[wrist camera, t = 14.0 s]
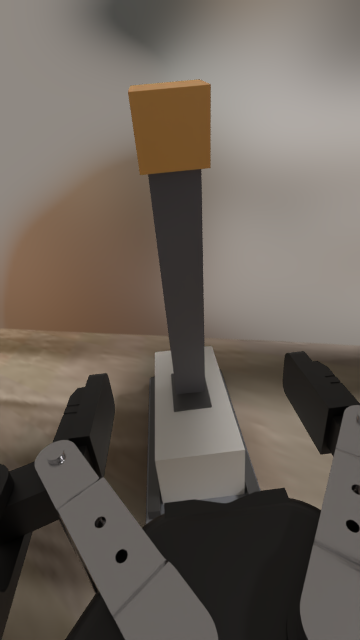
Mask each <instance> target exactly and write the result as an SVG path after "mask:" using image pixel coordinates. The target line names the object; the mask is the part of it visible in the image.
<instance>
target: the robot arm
mask: <svg viewBox="0 0 360 640" xmlns="http://www.w3.org/2000/svg"><path fill="white" fill-rule="evenodd" d="M283 388H284V391H285V394H286V396H287V398H288V399H289V401H290V403H291V404H292V406H293V408H294V410H295V411H296V413H297V415H298V416H299V418H300V420H301V422H302V423H303V425H304V427H305V429H306V430H307V432H308V434H309V435H310V437H311V439H312V441H313V442H314V444H315V446H316V447H317V449H318V451H319V453H320V454H328V453H332V455H333V462H332V466H331V470H330V475H329V479H328V483H327V488H326V492H325V496H324V501H323V505H322V509H321V510H320V509H318V508H316V507H314V506H312V505H310V504H308V503H305V502H303V501H300V500H296V499H291V498H288V495H287V493H286V490H285V488H280V489H272V490H264V491H256V492H253V493H251V494H248V495H246V496H243V497H241V498H239V499H236V500H234V501H231V502H229V503H218V502H211V501H203V500H196V499H192V500H184V501H176V502H168V503H164V514H162V515H160V516H158V517H156V518H154V519H153V520H151V521H150V522H149V523H147V524H146V525H145V526H144V527H143V528H141V526H140V525H139V524H138V522H137V521H136V520H135V518H134V517H133V516H132V514H131V513H130V512H129V510H128V509H127V508H126V506H125V505H124V503H123V502H122V501H121V499H120V498H119V497H118V495H117V494H116V493H115V491H114V490H113V489H112V487H111V486H110V485H109V483H108V482H107V481H106V479H105V478H104V473H105V467H106V461H107V455H108V449H109V443H110V437H111V432H112V426H113V420H114V414H115V404H114V398H113V394H112V390H111V386H110V382H109V378H108V375H107V373H104V374H95V375H89V377H88V380H87V383H86V386H85V387H82V388H78V389H77V390H76V391H75V392H74V393H73V394H72V395H71V396H70V398H69V401H68V404H67V407H66V409H65V411H64V415H63V417H62V419H61V422H60V425H59V427H58V430H57V433H56V435H55V438H54V440H53V443H51V444H49V445H48V446H46V447H45V448H44V449H43V450H42V451H41V452H40V453H39V454H38V456H37V457H36V460H35V461H34V462H32V463H30V464H28V465H25V466H23V467H20V468H17V469H15V470H12V471H8V469H7V467H6V466H4V465H2V464H0V640H1V639H2V636H3V632H4V629H5V625H6V622H7V619H8V615H9V612H10V608H11V605H12V601H13V598H14V594H15V591H16V587H17V584H18V580H19V577H20V573H21V570H22V566H23V563H24V559H25V556H26V552H27V549H28V545H29V542H30V538H31V535H32V531H34V530H36V529H39V528H41V527H43V526H45V525H47V524H50V523H52V522H54V521H56V520H59V522H60V524H61V526H62V528H63V530H64V532H65V533H66V535H67V537H68V539H69V541H70V543H71V545H72V547H73V549H74V551H75V553H76V555H77V557H78V559H79V561H80V563H81V565H82V568H83V570H84V572H85V574H86V576H87V578H88V580H89V582H90V584H91V586H92V588H93V590H94V592H95V596H94V597H93V599H92V600H91V602H90V603H89V605H88V606H87V608H86V609H85V611H84V612H83V614H82V615H81V617H80V618H79V620H78V621H77V623H76V624H75V626H74V627H73V629H72V630H71V632H70V633H69V635H68V636H67V638H66V639H65V640H360V403H359V402H358V401H357V400H356V399H355V398H354V396H353V395H352V394H351V393H350V392H349V391H348V390H347V388H346V387H345V386H344V385H343V384H342V383H340V380H339V379H338V378H337V377H335V375H334V374H333V372H332V371H331V370H330V369H329V368H328V367H327V366H325V365H323V364H322V363H320V362H318V361H312V360H311V359H310V358H309V357H308V355H307V354H306V353H305V352H304V351H301V352H292V353H286V354H285V359H284V371H283Z"/></svg>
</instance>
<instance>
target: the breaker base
mask: <svg viewBox="0 0 360 640" xmlns="http://www.w3.org/2000/svg"><path fill="white" fill-rule="evenodd" d="M204 356H205V391H203V392H195V393H186V394H178V395H176V388H175V380H174V372H173V364H172V356H171V351H163V352H155V377H151V378H150V385H149V423H148V462H147V500H146V524H147V523H149V522H150V521H151V520H153V519H154V518H156V517H158V516H160V515H162V514H164V503H168V502H176V501H184V500H192V499H196V500H203V501H211V502H218V503H229V502H231V501H234V500H236V499H239V498H241V497H243V496H246V495H248V494H251V493H253V492H256V491H260V488H259V485H258V482H257V479H256V476H255V472H254V469H253V466H252V463H251V460H250V457H249V454H248V451H247V448H246V445H245V442H244V439H243V436H242V433H241V430H240V427H239V424H238V421H237V418H236V414H235V411H234V408H233V405H232V402H231V399H230V396H229V393H228V390H227V387H226V384H225V381H224V378H223V375H222V372H221V370H220V369H219V367H218V364H217V361H216V357H215V354H214V351H213V348H212V346H206V347H204Z"/></svg>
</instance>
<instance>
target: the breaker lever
mask: <svg viewBox="0 0 360 640" xmlns="http://www.w3.org/2000/svg"><path fill="white" fill-rule="evenodd" d="M210 86H211V85H210V84H209V83H206V82H204V81H202V80H200V79H199V80H189V81H188V80H187V81H177V82H166V83H155V84H144V85H133V86H130V88H129V91H128V95H129V102H130V108H131V115H132V122H133V129H134V135H135V143H136V150H137V156H138V163H139V171H140V175H145V174H148V177H149V185H150V193H151V200H152V208H153V216H154V224H155V232H156V239H157V247H158V255H159V263H160V271H161V278H162V286H163V294H164V302H165V310H166V317H167V324H168V333H169V341H170V349H171V356H172V364H173V372H174V380H175V388H176V395H178V394H186V393H195V392H203V391H205V356H204V301H203V300H204V299H203V248H202V247H203V245H202V190H201V189H202V187H201V186H202V185H201V169H205V168H210V108H211V107H210V106H211V104H210V102H211V100H210V98H211V97H210V95H211V94H210V90H211V87H210Z"/></svg>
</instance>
